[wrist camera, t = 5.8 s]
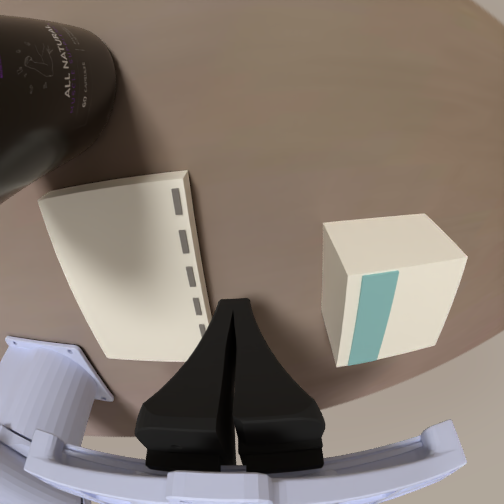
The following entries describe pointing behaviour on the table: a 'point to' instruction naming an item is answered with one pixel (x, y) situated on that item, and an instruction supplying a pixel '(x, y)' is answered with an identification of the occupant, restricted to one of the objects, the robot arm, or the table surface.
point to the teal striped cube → (386, 285)
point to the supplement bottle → (49, 97)
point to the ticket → (133, 263)
